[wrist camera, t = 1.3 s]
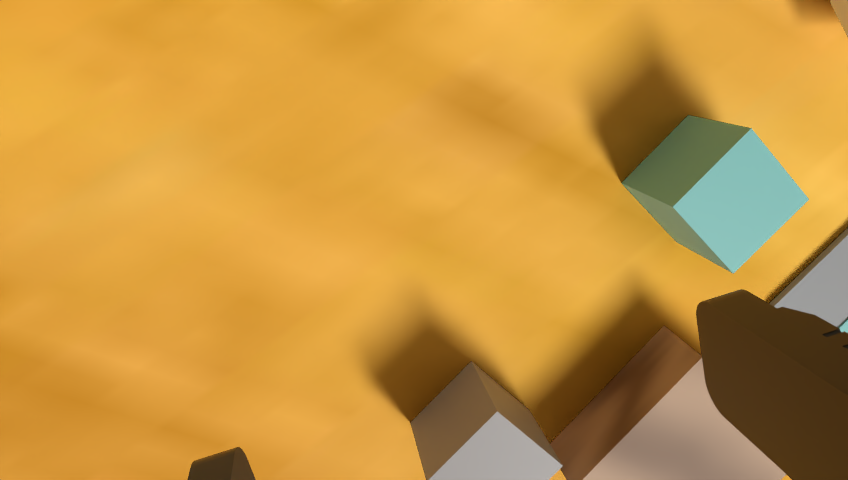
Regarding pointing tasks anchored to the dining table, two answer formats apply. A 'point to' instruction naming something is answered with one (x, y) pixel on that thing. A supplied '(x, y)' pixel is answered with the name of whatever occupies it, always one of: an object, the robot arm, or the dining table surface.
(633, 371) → the walnut base block
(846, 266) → the card
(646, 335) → the dining table surface
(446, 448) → the gray block
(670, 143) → the teal block
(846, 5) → the die
